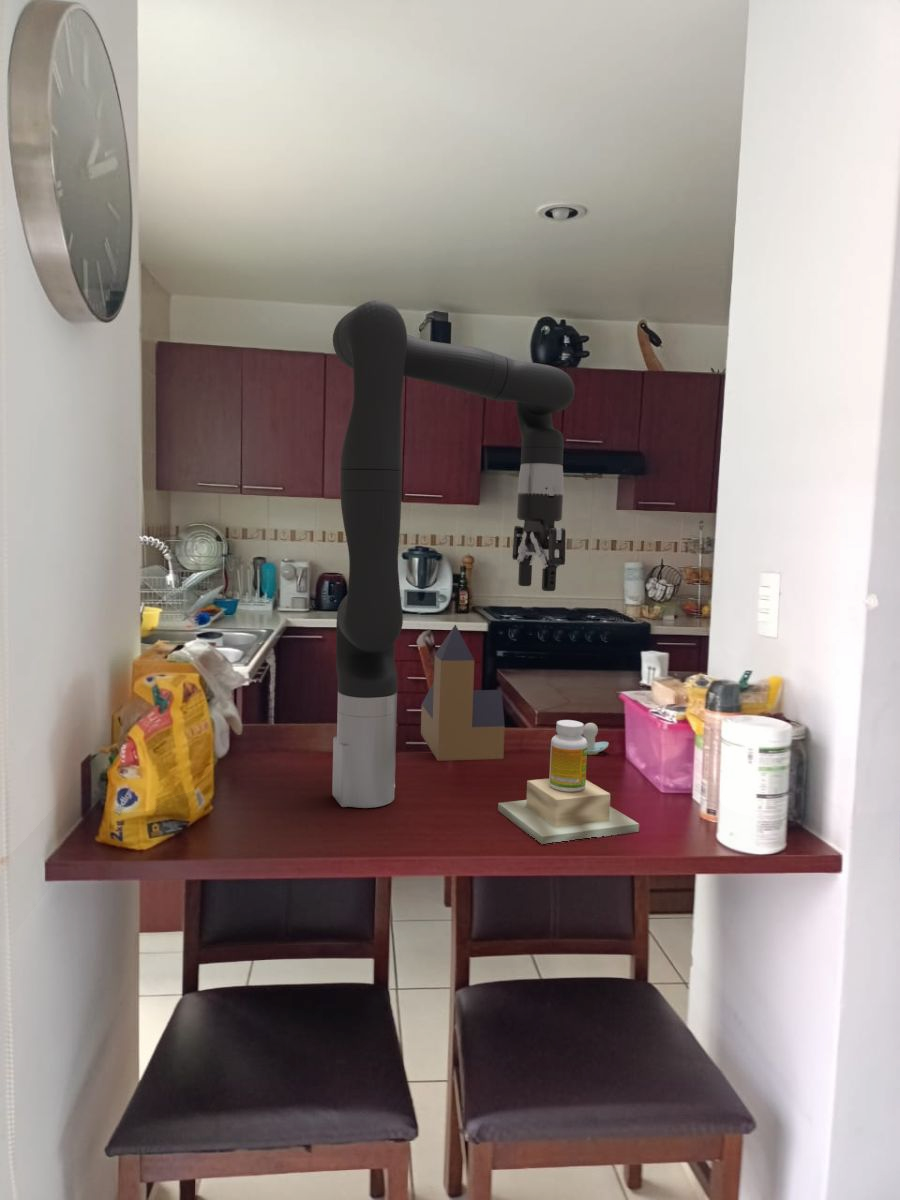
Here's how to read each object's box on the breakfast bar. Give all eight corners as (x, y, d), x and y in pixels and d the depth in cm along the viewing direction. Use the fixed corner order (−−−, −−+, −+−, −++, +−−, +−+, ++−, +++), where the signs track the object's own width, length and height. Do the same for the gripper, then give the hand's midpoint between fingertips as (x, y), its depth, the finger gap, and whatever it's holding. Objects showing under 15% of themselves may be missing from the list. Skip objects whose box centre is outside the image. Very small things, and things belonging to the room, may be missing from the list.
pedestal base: (541, 845, 114) (543, 808, 114) (498, 810, 127) (499, 777, 126) (638, 831, 120) (640, 797, 120) (587, 800, 133) (589, 768, 133)
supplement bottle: (587, 793, 121) (591, 728, 120) (550, 792, 121) (554, 727, 120) (582, 781, 126) (585, 719, 125) (547, 780, 126) (550, 717, 125)
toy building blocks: (437, 761, 152) (442, 626, 149) (420, 734, 170) (424, 613, 168) (503, 759, 154) (508, 626, 152) (479, 732, 173) (484, 614, 170)
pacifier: (566, 748, 164) (572, 756, 158) (567, 717, 163) (573, 724, 157) (602, 749, 164) (610, 757, 158) (604, 718, 164) (611, 724, 158)
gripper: (501, 491, 144) (498, 584, 145) (541, 490, 130) (536, 592, 132) (539, 493, 146) (535, 584, 148) (582, 492, 133) (577, 592, 135)
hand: (536, 588), depth 140 cm, fingers open, 8 cm apart
